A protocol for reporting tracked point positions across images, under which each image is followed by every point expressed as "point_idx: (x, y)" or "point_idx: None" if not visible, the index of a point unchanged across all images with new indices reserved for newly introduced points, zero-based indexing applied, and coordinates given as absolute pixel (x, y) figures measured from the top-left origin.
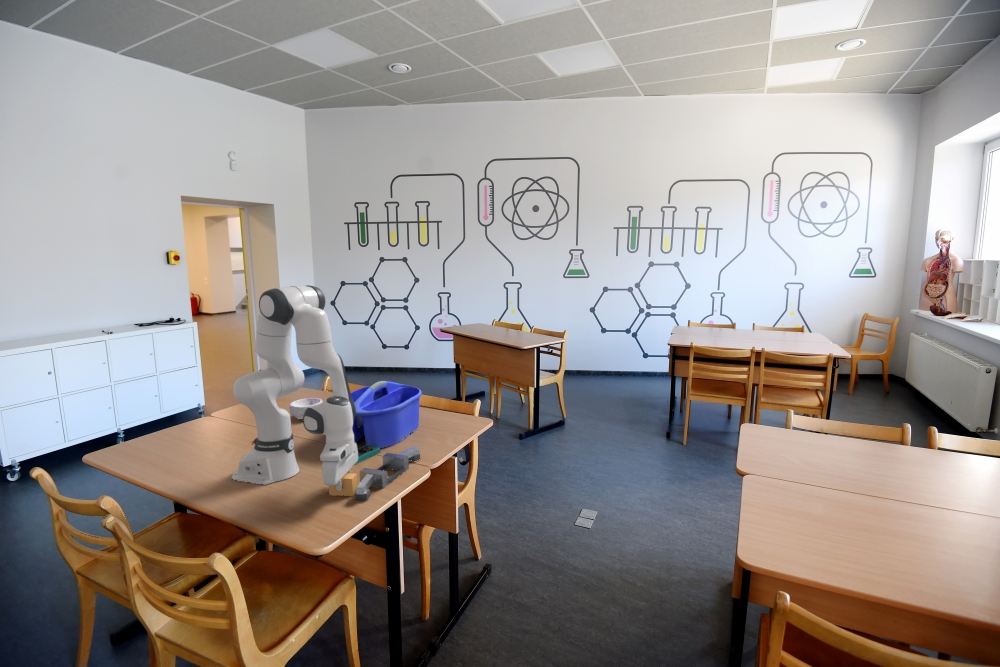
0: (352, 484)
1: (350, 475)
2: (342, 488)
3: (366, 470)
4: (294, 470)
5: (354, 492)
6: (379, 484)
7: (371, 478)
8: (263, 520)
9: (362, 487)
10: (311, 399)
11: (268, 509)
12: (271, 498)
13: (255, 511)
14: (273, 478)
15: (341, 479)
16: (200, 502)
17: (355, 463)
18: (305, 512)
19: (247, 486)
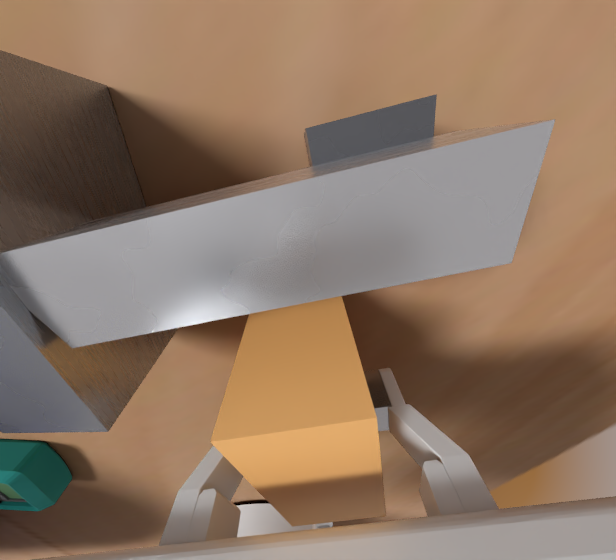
0: (352, 348)
1: (289, 458)
2: (373, 374)
3: (25, 395)
4: (246, 523)
5: None
6: (87, 132)
7: (119, 222)
8: (555, 438)
9: (540, 147)
10: None
11: (476, 458)
12: (403, 478)
13: (485, 469)
14: (311, 524)
15: (433, 475)
16: None
17: (28, 447)
18: (526, 378)
19: None
